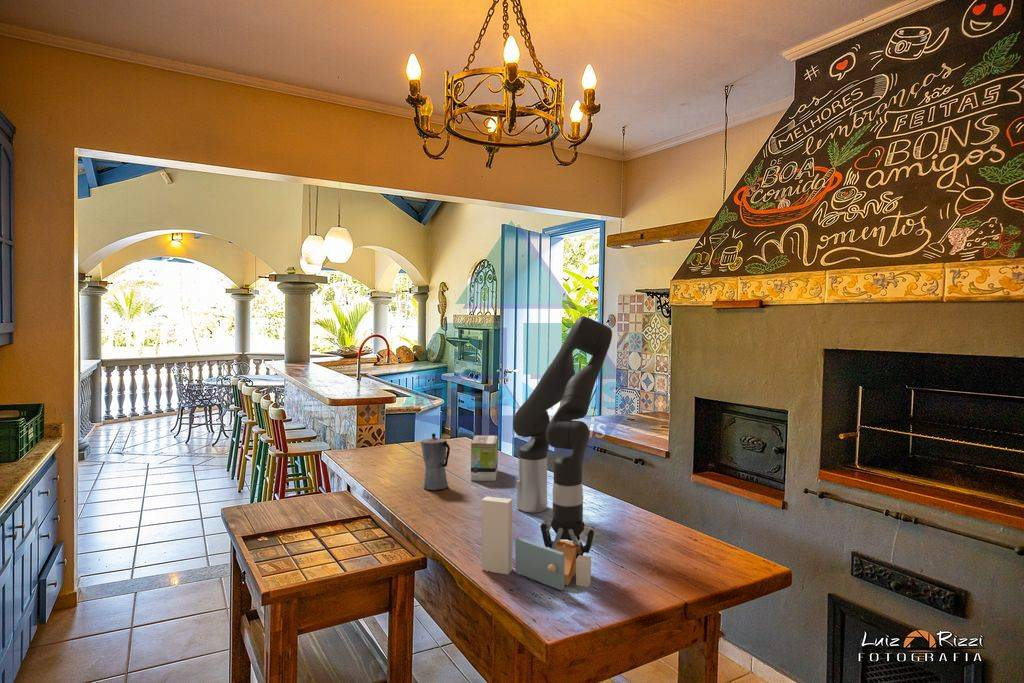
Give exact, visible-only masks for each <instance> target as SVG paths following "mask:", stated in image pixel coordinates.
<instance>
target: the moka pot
mask: <svg viewBox="0 0 1024 683" xmlns="http://www.w3.org/2000/svg"><path fill="white" fill-rule="evenodd" d="M420 445H421V451H422V457H423V462H424V467H425V468H424V477H423V489H424V488H425V490H428V491H438V490H445V489H447V488H448V487H449V486H448V485H449V484H448V480H447V473H446V467H448V460H449V457H450V450H451V446H450V445H449V444H448V441H447V440H446V439H445V438H439V437H436V433H435V432H434V433H431V437H430V438H424V439H422V440H421V441H420Z"/></svg>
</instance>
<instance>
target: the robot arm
mask: <svg viewBox="0 0 1024 683" xmlns="http://www.w3.org/2000/svg"><path fill="white" fill-rule="evenodd" d="M612 338H613V330H612V329H611V327H609V325H606V324H604V323H601V322H599V321H596V320H595V319H592V318H590V317H587V316H584V315H583V316H580V317H578V318H577V319H576V321H575V322H574V323H573V325H572V327H571V329H570V330H569V332H568V334H567V336H566V337H565V339H564V341H563V344H562V345H561V348H560V349H559V350H558V352H557V354H556V356H555V357H554V358H553V360H552V361H551V363H550V365H549V366H548V367H547V368H546V370H545V371H544V373H543V375H542V376H541V378H540V379H539V382H538V383H537V385H536V386H535V388H534V389H533V390H532V391H531V393H530V395H529V396H528V397H527V399H526V400H525V401H524V402H523V403H522V404H521V406H520V407H519V408H518V409H517V410H516V412H515V414H514V416H513V420H512V428H513V431H514V433H515V434H516V436H519V437H521V438H530V439H529V440H528V441H527V442H526V443H525V444H523V445H521V446H520V448H519V450H518V479H517V481H516V509H517V510H518V511H519V510H520V511H521V512H525V513H542V512H545V511H546V510H547V509H548V451H549V449H550V448H549V447H550V446H551V448H556V449H565V450H572V454H571V455H566V456H560V457H559V456H558V457H557V458H556V459H554V461H553V486H552V519H551V520H550V521H547V520H544V521H542V523H541V524H540V532H541V535H542V540H543V546H545V547H548V548H551V549H554V550H555V547H556V545H558V544H559V542H560V540H564V541H571V542H573V544H574V546H575V548H576V550H577V554H576V559H577V558H578V556H579V555H581V556H584V554H589V553H590V550H591V548H592V545H593V541H594V537H595V533H596V528H595V526H591V527H589V526H587V525H585V523H584V489H583V482H582V481H583V463H584V457H585V454H586V449H587V447H588V443H589V440H590V428H589V427H588V425H587V423H585V421H581V420H579V419H583V418H585V417H586V416H587V414H588V411H589V407H590V404H591V399H592V396H593V391H594V387H595V384H596V381H597V379H598V376H599V374H600V372H601V369H602V367H603V365H604V362H605V359H606V357H607V354H608V351H609V348H610V346H611V343H612ZM574 350H578V351H581V352H583V353H586V354H588V355H590V356H592V357H591V359H590V361H589V363H588V364H586V366H584V367H583V368H581V369H580V370H579V371H576V370H575V365H574V358H573V356H574V355H573V354H574ZM560 402H561V403H560ZM558 403H560V405H559V407H558V408H557V410H556V412H555V413H554V415H553V416H552V418H551V419H550V415H549V413H548V410H550V409H551V408H553V407H554V406H555V405H557V404H558ZM551 528H552V530H553V532H554V533H555V534H556V535H555V538H554V540H552V538H551V532H550V530H551ZM583 532H585V534H584V535H585V537H586V538H587V539H586V542H585V544H583V540H582V536H581V534H582V533H583Z"/></svg>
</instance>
